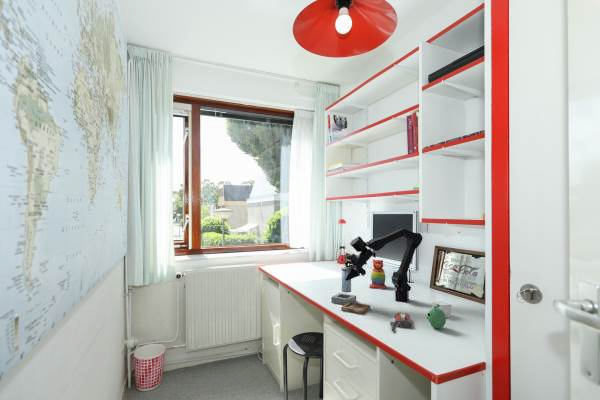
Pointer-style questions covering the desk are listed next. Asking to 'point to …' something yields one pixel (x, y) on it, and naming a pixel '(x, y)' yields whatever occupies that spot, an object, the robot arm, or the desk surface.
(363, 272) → the robot arm
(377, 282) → the stacking bear
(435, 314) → the alien toy
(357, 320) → the desk surface
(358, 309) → the tray
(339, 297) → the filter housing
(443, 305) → the pale pink cube
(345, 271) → the ball
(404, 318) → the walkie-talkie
